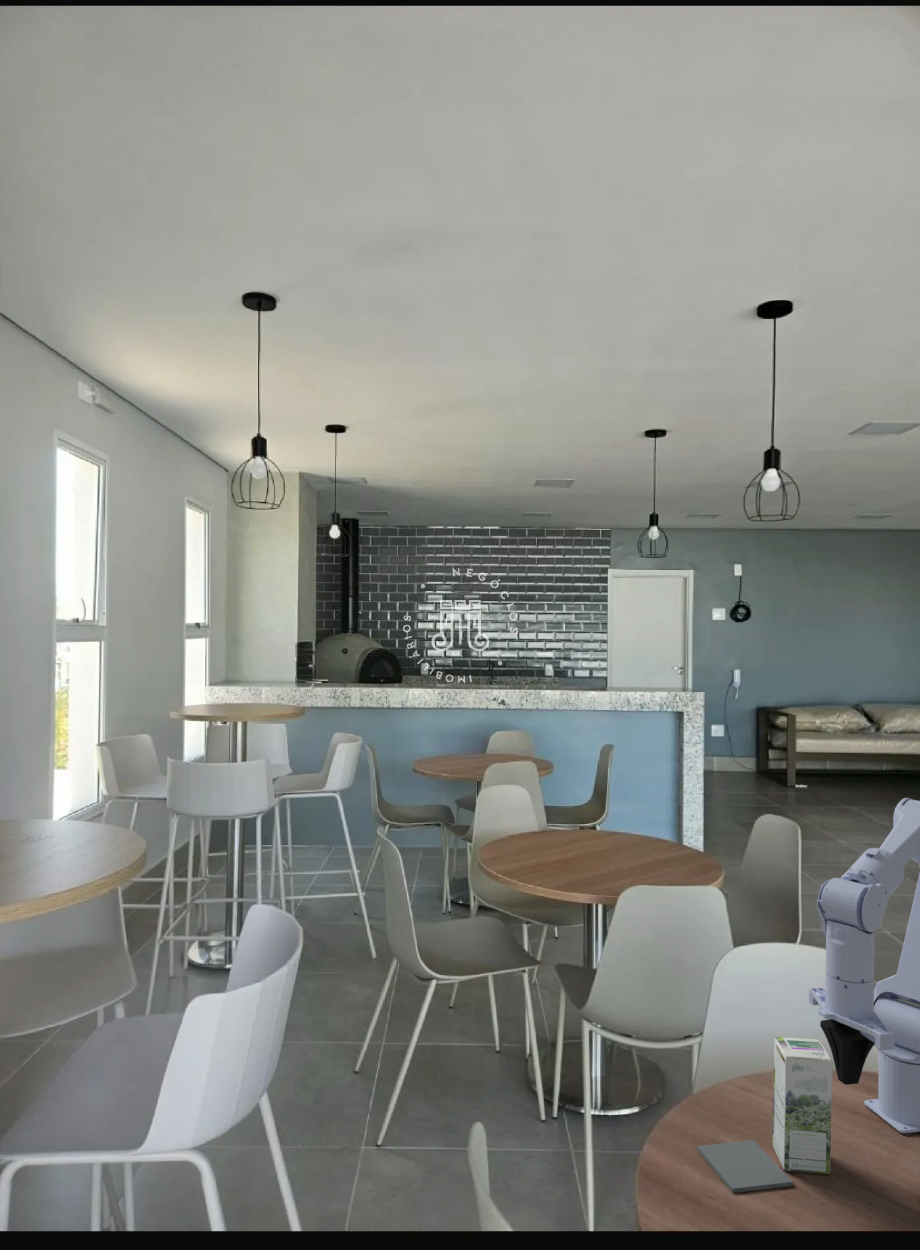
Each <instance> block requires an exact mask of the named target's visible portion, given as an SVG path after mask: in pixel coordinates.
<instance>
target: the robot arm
mask: <svg viewBox="0 0 920 1250" xmlns="http://www.w3.org/2000/svg"><path fill="white" fill-rule="evenodd" d="M892 820H893V821H892V822H893V823H892V824H893V826H892V827H893V828H892V829H891V831H890V832H889V834H888V835H887V837H886V838H885V839H884V841H883V842H882V844H880V847H871V848H868V849H866V850H865V851H864V852H863V853H862V854H861V855H860V856H859V857H858V859H856V861H855V862H854V863H853V864H852V865H851V866H850V867H849V868H848V869H847V870H846V872H844V874H842V876H841V877H840V878H839V877H833V878H831V879H828V880H825V881H824V883H822V885H821V887H820V889H819V893H818V896H817V898H818V899H817V900H816V909H817V910H816V911H817V914H818V916H819V918H820V922H821V932H822V934H823V935H824V936H825V988H824V987H809V988H808V1003H810V1004H811V1005H813V1006H819V1008H818V1010H817V1014H818V1015H819V1016H820V1017H822V1018H823V1019H822V1020H821V1021H820V1025H819V1026H820V1028H821V1030H822V1031H823V1033H824V1036H825V1038H826V1040H827V1043H828V1045H829V1048H830V1051H831V1055H832V1059H833V1063H834V1067H835V1071H836V1076H837V1079H838V1081H839V1082H841V1083H842V1084H843V1085H845V1086H846V1085H847V1086H848V1085H858V1084H859V1082H860V1079H861V1076H862V1072H863V1069H864V1068H863V1067H864V1065H865V1062H866V1060H867V1057H868V1055H869V1053H870V1052H871V1050H872V1049H873V1047H875V1048H876V1049H878V1078H877V1079H878V1085H877V1086H878V1090H877V1091H878V1092H877V1094H878V1097H877V1098H875V1099H874V1098H873V1099H866V1100H864V1101H863V1103H864V1105H865V1106H866V1107H867V1108H868V1109H870V1110H871V1111H872V1112H873V1113H875V1114H876V1115H877V1116H878V1117H880V1118H881V1119H882V1120H883V1121H885V1122H886V1123H887V1124H889V1125H890V1126H891V1127H893V1128H894V1129H895V1130H897V1131H898V1132H899V1133H900V1134H912V1133H919V1132H920V873H919V874H918V875H919V876H918V879H917V883H916V887H915V892H914V896H913V902H912V905H911V909H910V915H909V918H908V922H907V928H906V932H905V934H904V935H905V936H904V939H903V940H904V941H903V945H902V949H901V953H900V957H899V961H898V966H897V970H896V974H894V975H892V976H889V977H886V978H884V979H882V980H879V981H878V982H876V983H875V932H876V930H878V929H880V928H881V925H882V922H883V919H884V915H885V911H886V910H887V909H888V905H889V903H888V899H889V898H890V897H891V896H892V894H893V893H894V892H895V891H896V890H897V889H898V887H900V885H902V883H903V881H904V880H905V879H904V878H905V869H904V866H905V865H907V864H908V863H909V862H910V861H911V860H912V861H914V862H915V863H917V864H918V867H919V868H920V800H918V799H917V800H916V799H912V798H909V797H904V798H902V799H900V801H899V802H898V803H897V805H896V807H895V808H894V811H893V818H892ZM906 1001H907V1002H906ZM908 1002H909V1003H908ZM912 1003H913V1004H912ZM914 1004H916V1005H914ZM917 1005H918V1006H917Z"/></svg>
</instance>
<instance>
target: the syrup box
mask: <svg viewBox="0 0 920 1250" xmlns="http://www.w3.org/2000/svg"><path fill="white" fill-rule="evenodd" d="M833 1063H834V1061H833V1060H832V1058H831V1057H830V1055H829V1054H828V1052H827V1050H826V1048H825V1046H824V1045H823V1043H821V1041H820V1040H819V1039H812V1038H799V1037H798V1038H797V1037H782V1036H780V1037H779V1036H775V1037H774V1040H773V1087H772V1088H773V1089H772V1091H773V1092H772V1134H771V1135H772V1144H771V1145H772V1147H773V1149H774V1151H775V1153H776V1156H777V1158H778V1160H779V1162H780V1165H781V1166H782V1169H783V1170H784V1171H785V1172H795V1173H797V1172H798V1173H807V1174H808V1173H810V1174H822V1175H830V1173H831V1149H832V1109H833V1108H832V1104H833Z"/></svg>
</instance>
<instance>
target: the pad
mask: <svg viewBox="0 0 920 1250" xmlns="http://www.w3.org/2000/svg"><path fill="white" fill-rule="evenodd" d="M696 1151H697V1152H698V1153H699V1154H700V1155H701V1157H702V1158H703V1159H704V1160H705V1161H706V1163H707V1164H708V1165H709V1166H710V1167H711V1169H712V1170H713V1171H714V1172H715V1174H716V1175H717V1176H718V1178H719V1179H720V1180H721V1181H722V1182H723V1183H724V1184H725V1186H726V1187H727V1188H728V1190H730V1192H731V1193H732V1194H734V1193H743V1192H751V1191H761V1190H767V1189H768V1190H769V1189H778V1188H787V1187H793V1186H794V1181H793V1180H792V1179H791V1178H790V1177H789V1176H788V1175H787V1173H786V1172H784V1171H783V1170H782V1168H781V1167H779V1165H778V1164H777V1163H776V1162H775V1161H774V1160H773V1159H772V1158H771V1157H770V1156H769V1155H768V1153H766V1151H764V1150H763V1148H762V1147H760V1145H759V1144H757V1142H756V1141H755V1140H754V1139H751V1140H743V1141H734V1142H722V1143H712V1144H703V1145H697V1146H696Z"/></svg>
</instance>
